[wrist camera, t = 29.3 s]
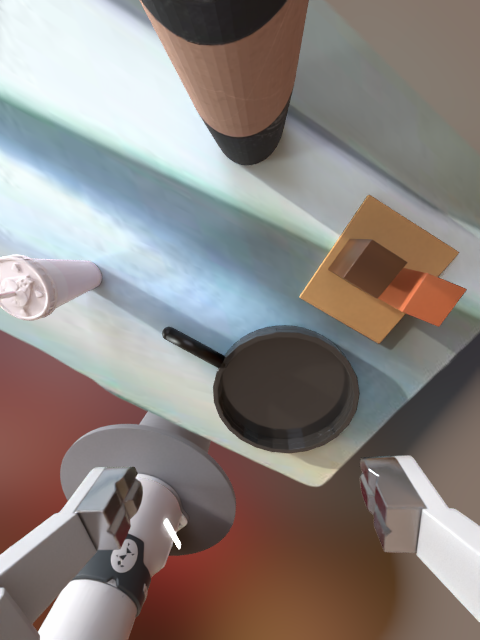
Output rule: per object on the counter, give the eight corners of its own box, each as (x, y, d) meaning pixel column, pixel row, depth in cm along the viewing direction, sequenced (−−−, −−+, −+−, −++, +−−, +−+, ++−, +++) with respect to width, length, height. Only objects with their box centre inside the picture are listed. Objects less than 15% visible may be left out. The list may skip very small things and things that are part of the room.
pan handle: (225, 366, 33) (223, 373, 32) (163, 333, 33) (157, 338, 31) (231, 357, 33) (230, 363, 31) (168, 322, 32) (163, 327, 30)
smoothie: (56, 267, 32) (-90, 289, 19) (87, 239, 30) (-50, 241, 17) (89, 306, 33) (-25, 351, 20) (121, 281, 32) (19, 313, 19)
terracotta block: (405, 309, 29) (439, 327, 23) (374, 296, 29) (401, 311, 23) (425, 278, 27) (467, 289, 22) (394, 265, 27) (427, 272, 22)
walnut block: (355, 286, 28) (377, 299, 23) (327, 269, 28) (343, 277, 22) (378, 256, 27) (408, 262, 21) (349, 238, 27) (372, 238, 21)
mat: (377, 342, 31) (379, 344, 30) (299, 296, 30) (299, 297, 30) (456, 252, 27) (459, 252, 26) (367, 195, 26) (369, 194, 25)
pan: (301, 457, 39) (303, 472, 36) (195, 402, 37) (190, 414, 35) (382, 369, 32) (392, 380, 30) (259, 298, 31) (258, 304, 28)
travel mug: (260, 58, 23) (238, -783, 4) (299, 136, 24) (414, -195, 6) (198, 115, 25) (-14, -266, 6) (238, 184, 26) (172, 55, 8)
